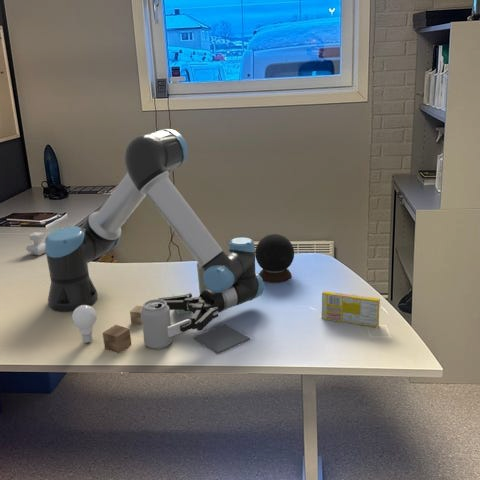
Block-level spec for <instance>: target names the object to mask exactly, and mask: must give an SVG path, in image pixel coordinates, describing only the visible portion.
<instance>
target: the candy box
mask: <svg viewBox="0 0 480 480" xmlns="http://www.w3.org/2000/svg"><path fill="white" fill-rule="evenodd" d="M380 302H381V299H380V298H378V297H370V296H362V295H354V294H349V293H348V294H347V293H341V292H332V291H325V290H323V291H322V293H321V319H322V320H326V319H327V321H334V322H339V321H340V322H339V323H346V324H347V323H348V324H351V323H352V324H353V325H357V326H358V325H360V326H364V327H371V328H376V327H377V329H378V328H379V325H380V308H381V307H380V306H381V305H380V304H381V303H380Z"/></svg>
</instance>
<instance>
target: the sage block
mask: <svg viewBox="0 0 480 480" xmlns="http://www.w3.org/2000/svg"><path fill="white" fill-rule="evenodd" d="M185 294H188V293H187V291H185V292H181V293H176V294H173V296H180V295H185ZM187 307H188V304H187ZM174 311H175V312H176V313H177V315H178V316H180V315H185V314H189V313H191V312H190V311H184V310H174Z"/></svg>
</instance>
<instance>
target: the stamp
mask: <svg viewBox="0 0 480 480" xmlns="http://www.w3.org/2000/svg"><path fill="white" fill-rule="evenodd" d="M28 237H29V240H30V241H33V243H31V244H29V245H27V246H26V247H25V249H26V251H27V252H28V253H30V255H34V256H41V255H43V254H45V253H46V252H45V247H46V246H45V242H43V241H41V240H43V239H44V237H45V232H37V231H35V232H32V233H31V234H29V236H28Z"/></svg>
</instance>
